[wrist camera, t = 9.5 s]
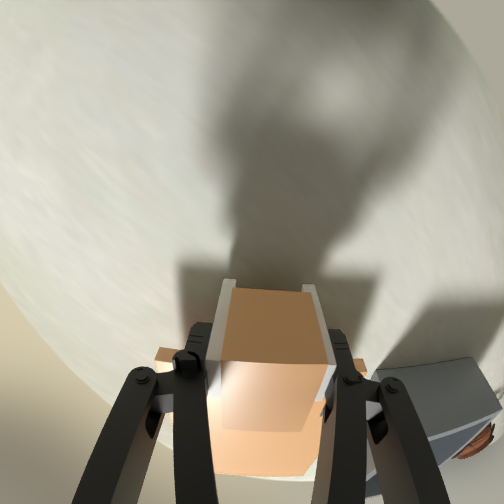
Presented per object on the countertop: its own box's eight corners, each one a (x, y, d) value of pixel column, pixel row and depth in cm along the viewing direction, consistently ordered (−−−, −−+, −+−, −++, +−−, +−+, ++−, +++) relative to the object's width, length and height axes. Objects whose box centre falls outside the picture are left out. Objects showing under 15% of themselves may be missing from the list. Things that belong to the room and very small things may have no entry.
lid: (153, 271, 15) (109, 342, 10) (382, 287, 15) (424, 357, 10) (191, 455, 26) (184, 496, 20) (302, 461, 26) (304, 502, 20)
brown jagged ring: (495, 391, 27) (507, 429, 22) (463, 405, 34) (474, 438, 29) (451, 429, 25) (463, 472, 20) (418, 436, 32) (429, 473, 27)
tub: (375, 370, 22) (400, 444, 14) (472, 356, 21) (502, 408, 14) (321, 457, 30) (326, 505, 23) (400, 445, 30) (411, 486, 23)
